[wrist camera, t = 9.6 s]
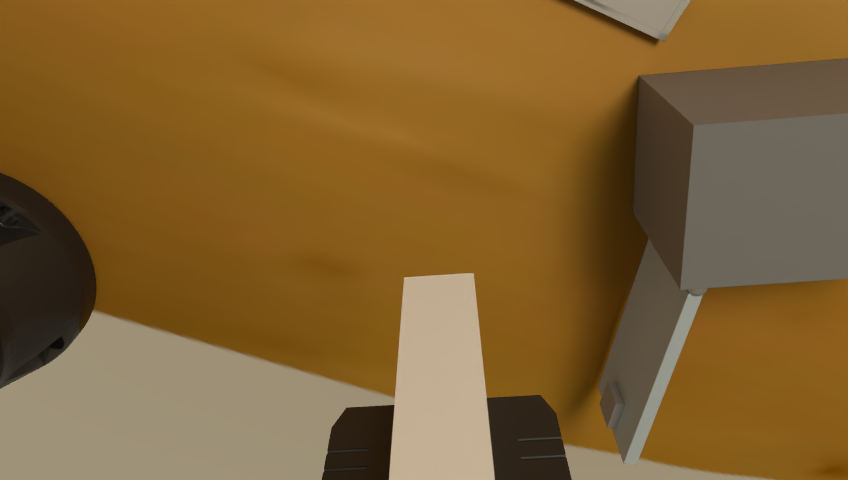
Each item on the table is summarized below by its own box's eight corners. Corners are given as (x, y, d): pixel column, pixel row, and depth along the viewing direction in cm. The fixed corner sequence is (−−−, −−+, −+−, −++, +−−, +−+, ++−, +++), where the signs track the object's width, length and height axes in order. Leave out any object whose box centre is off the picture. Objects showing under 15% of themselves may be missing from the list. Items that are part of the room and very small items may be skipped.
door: (645, 219, 45) (683, 278, 38) (668, 222, 45) (710, 281, 38) (590, 385, 51) (614, 462, 44) (610, 388, 51) (637, 465, 44)
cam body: (632, 214, 47) (686, 302, 37) (639, 75, 43) (701, 132, 33) (932, 192, 46) (1069, 276, 36) (967, 48, 42) (1133, 98, 32)
